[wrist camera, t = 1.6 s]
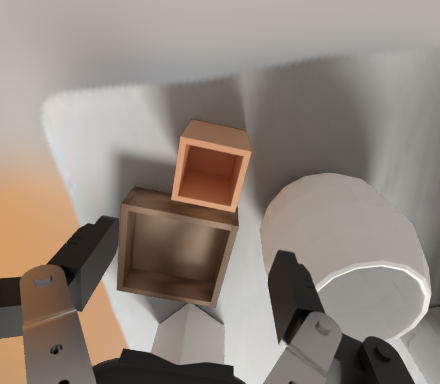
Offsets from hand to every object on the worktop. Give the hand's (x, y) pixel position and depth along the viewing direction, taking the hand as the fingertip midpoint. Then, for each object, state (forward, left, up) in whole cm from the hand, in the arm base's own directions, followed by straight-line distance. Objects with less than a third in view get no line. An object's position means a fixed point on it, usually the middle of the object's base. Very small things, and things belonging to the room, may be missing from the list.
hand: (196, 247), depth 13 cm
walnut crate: (+2, +12, -16) cm, 20 cm away
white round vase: (-13, +5, -17) cm, 21 cm away
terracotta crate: (0, 0, -16) cm, 16 cm away
